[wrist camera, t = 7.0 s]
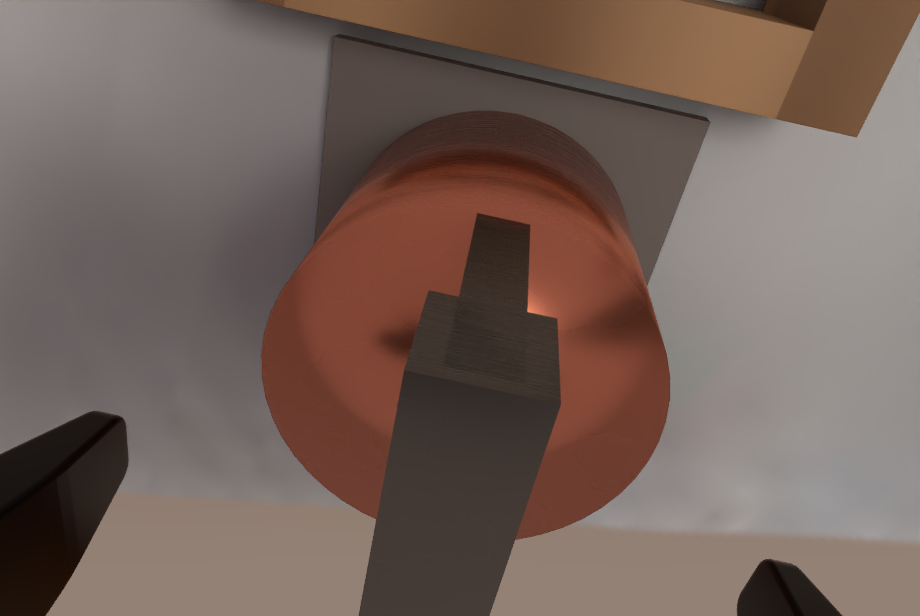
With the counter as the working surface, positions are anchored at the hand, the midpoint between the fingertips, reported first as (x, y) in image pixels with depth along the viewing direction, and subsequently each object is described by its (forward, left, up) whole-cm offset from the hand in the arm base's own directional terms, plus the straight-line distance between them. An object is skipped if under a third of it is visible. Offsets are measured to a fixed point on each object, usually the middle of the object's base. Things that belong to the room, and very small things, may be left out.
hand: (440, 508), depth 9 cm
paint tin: (0, 0, -9) cm, 9 cm away
